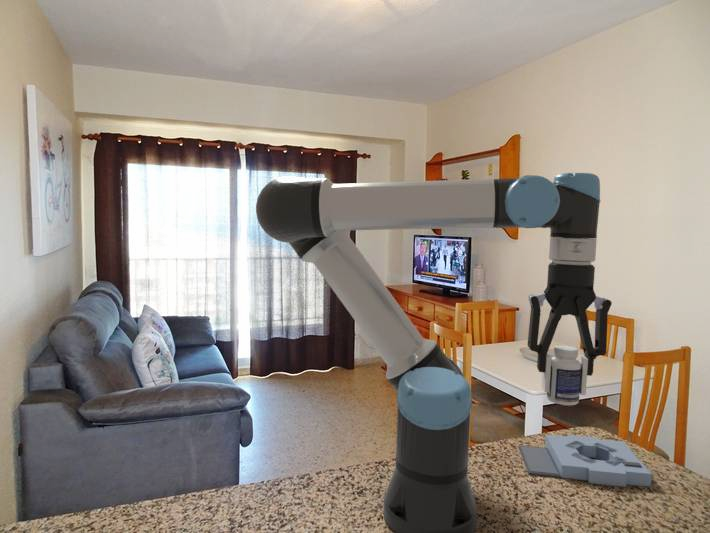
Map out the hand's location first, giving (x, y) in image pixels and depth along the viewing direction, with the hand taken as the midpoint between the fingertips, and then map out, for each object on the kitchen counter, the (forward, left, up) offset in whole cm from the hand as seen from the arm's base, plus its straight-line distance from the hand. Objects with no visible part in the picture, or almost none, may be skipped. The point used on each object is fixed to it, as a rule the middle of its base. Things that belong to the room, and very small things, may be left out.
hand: (563, 390), depth 88 cm
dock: (+10, +12, -19) cm, 24 cm away
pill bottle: (0, 0, -2) cm, 2 cm away
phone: (-1, +11, -19) cm, 22 cm away
